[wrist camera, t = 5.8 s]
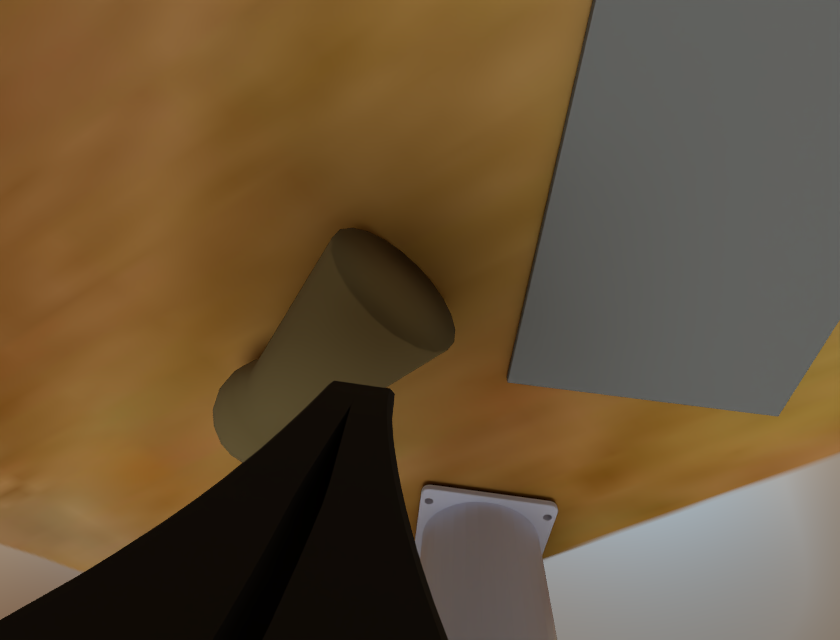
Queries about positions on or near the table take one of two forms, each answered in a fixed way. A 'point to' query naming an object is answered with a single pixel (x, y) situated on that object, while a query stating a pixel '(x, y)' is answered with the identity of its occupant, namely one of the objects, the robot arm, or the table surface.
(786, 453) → the table surface
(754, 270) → the topple mat
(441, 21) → the table surface
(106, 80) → the table surface
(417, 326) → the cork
